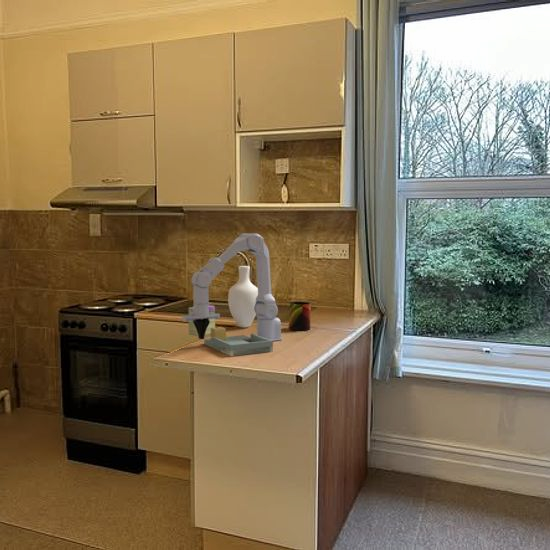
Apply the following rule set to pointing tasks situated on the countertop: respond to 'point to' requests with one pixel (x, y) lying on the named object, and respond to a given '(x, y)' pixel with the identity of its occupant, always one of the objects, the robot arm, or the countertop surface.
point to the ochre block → (218, 333)
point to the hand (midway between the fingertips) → (201, 338)
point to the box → (191, 311)
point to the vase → (243, 299)
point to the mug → (299, 316)
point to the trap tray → (241, 344)
